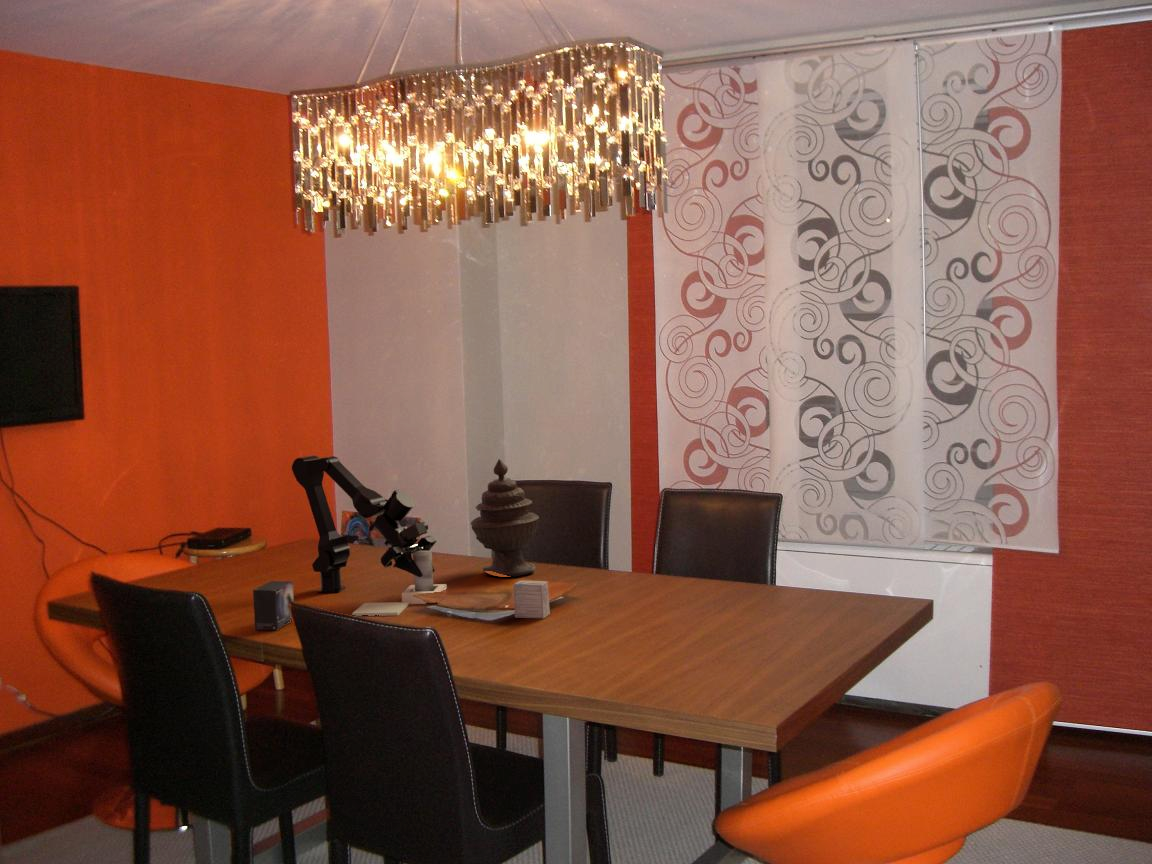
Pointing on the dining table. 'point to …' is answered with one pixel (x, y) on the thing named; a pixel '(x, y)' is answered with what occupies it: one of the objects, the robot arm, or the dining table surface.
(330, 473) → the robot arm
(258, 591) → the small box
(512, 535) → the decorative urn
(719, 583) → the dining table surface
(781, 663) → the dining table surface
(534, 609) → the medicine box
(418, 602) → the pocket block
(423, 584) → the peg
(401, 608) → the pad
